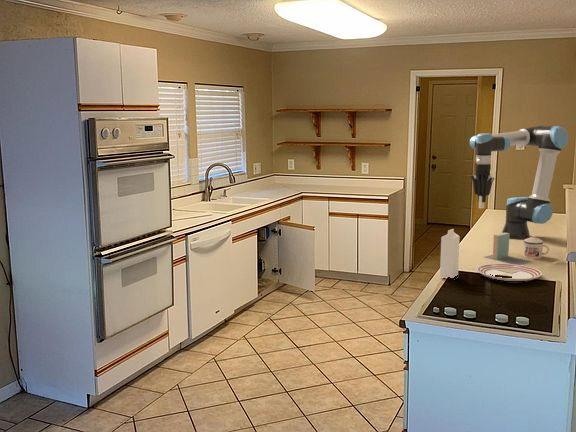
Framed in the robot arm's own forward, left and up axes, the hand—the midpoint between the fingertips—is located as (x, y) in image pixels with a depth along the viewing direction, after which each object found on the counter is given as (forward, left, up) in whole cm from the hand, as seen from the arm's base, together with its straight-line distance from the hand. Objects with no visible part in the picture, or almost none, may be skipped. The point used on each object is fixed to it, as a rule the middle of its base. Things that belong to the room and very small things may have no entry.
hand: (481, 208), depth 309 cm
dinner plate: (+48, +19, -23) cm, 56 cm away
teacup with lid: (+9, +28, -23) cm, 37 cm away
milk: (+60, -5, -23) cm, 64 cm away
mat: (+19, +16, -22) cm, 34 cm away
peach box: (+17, +12, -22) cm, 30 cm away
